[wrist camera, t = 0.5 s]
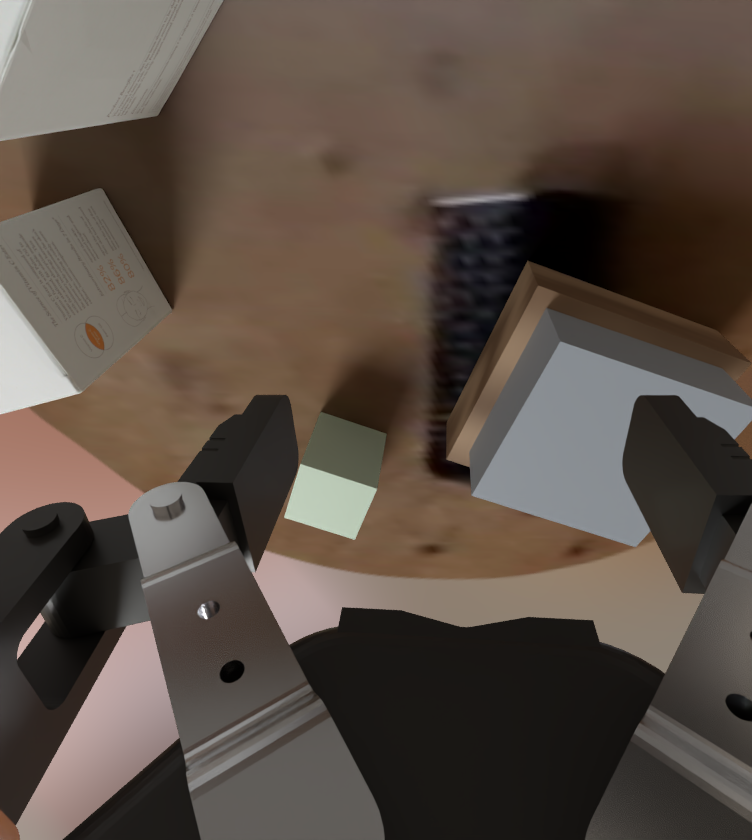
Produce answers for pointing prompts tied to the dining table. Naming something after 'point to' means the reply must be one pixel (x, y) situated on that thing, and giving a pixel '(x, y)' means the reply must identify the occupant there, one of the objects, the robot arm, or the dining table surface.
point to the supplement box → (92, 60)
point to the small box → (69, 299)
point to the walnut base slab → (585, 304)
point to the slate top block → (586, 423)
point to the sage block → (337, 476)
